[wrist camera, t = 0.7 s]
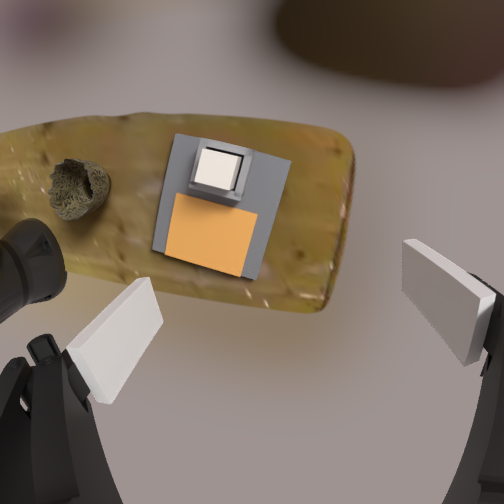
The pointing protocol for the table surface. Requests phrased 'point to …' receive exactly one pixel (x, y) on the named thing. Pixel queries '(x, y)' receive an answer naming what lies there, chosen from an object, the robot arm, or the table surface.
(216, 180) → the button
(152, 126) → the table surface
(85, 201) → the cup
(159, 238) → the plate
